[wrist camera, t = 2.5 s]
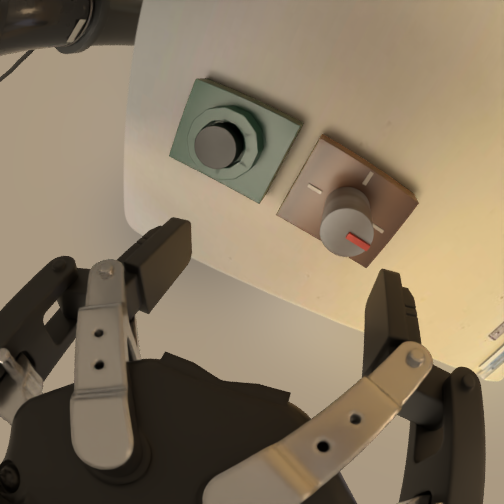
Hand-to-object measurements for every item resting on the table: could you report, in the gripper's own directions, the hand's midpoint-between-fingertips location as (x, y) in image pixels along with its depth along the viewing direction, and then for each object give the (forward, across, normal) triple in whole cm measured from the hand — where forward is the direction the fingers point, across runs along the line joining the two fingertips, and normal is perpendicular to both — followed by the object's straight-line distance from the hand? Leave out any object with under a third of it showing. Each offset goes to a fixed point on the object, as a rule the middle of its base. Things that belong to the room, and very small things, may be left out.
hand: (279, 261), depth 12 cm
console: (+19, +9, 0) cm, 21 cm away
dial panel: (+19, -4, +4) cm, 20 cm away
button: (+15, +9, 0) cm, 18 cm away
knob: (+16, -4, +4) cm, 17 cm away
